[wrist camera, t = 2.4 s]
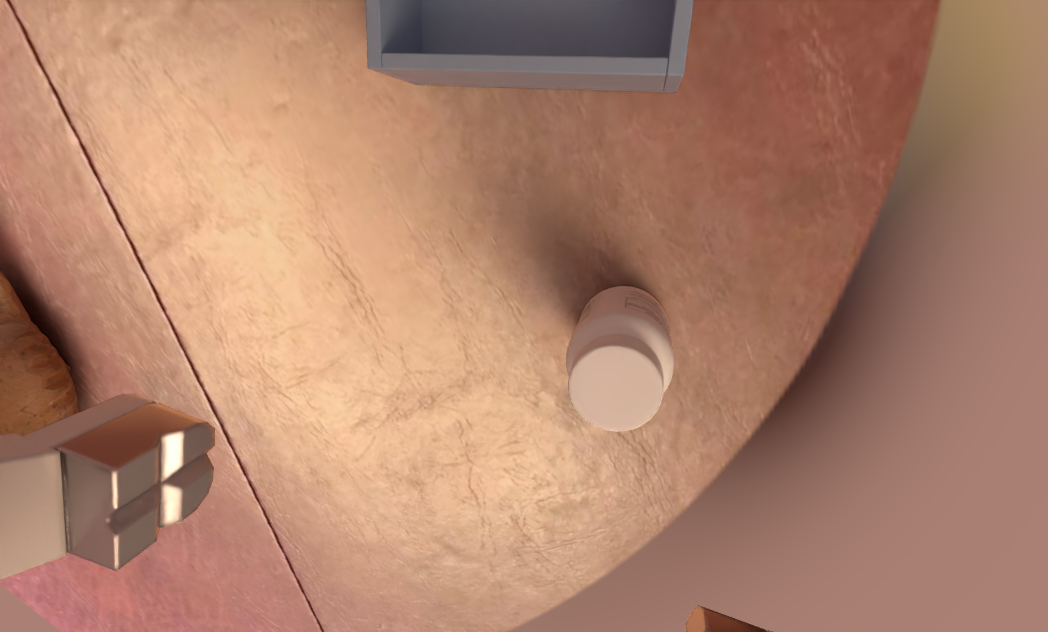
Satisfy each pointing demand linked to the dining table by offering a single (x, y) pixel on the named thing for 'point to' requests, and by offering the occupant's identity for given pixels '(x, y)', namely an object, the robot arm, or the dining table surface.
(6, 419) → the bowl
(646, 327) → the pill bottle
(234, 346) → the dining table surface
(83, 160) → the dining table surface
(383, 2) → the blue bin
